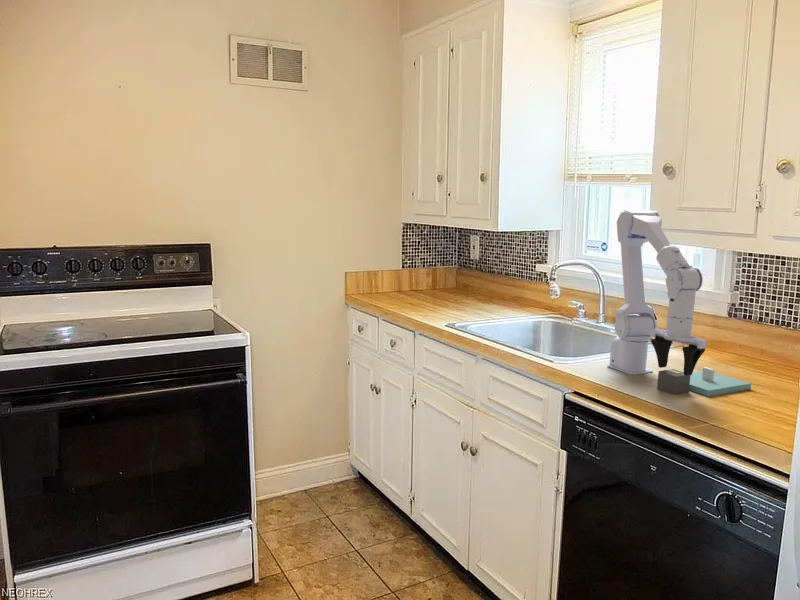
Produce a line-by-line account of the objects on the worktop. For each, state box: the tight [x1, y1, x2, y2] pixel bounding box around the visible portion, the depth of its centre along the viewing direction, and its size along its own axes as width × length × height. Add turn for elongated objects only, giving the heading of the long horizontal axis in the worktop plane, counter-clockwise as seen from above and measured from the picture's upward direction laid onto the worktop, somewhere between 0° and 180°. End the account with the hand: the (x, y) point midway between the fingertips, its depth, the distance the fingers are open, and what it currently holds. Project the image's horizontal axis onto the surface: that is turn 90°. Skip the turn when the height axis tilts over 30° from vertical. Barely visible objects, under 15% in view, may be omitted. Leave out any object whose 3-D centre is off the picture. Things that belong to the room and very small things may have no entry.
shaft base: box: [689, 366, 752, 397], centre depth 165 cm, size 13×16×4 cm
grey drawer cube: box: [656, 368, 690, 395], centre depth 160 cm, size 5×5×5 cm
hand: (674, 370), depth 160 cm, fingers open, 7 cm apart
